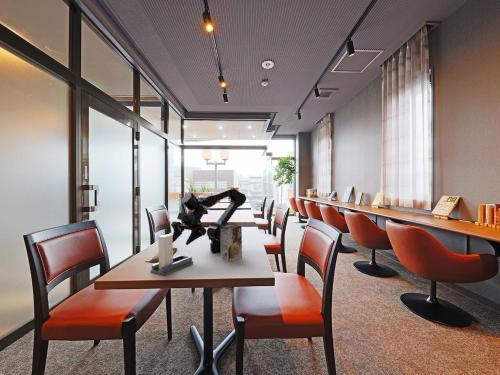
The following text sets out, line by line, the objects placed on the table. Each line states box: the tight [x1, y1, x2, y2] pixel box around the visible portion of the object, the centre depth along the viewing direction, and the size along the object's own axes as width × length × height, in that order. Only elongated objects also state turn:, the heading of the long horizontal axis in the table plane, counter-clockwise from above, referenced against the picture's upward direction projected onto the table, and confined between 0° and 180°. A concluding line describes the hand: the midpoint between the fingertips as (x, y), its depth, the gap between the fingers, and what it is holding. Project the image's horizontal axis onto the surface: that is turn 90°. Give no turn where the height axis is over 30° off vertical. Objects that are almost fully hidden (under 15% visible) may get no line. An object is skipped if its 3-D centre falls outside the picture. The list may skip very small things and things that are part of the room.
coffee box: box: [220, 224, 243, 263], centre depth 117 cm, size 9×6×16 cm
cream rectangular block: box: [157, 234, 174, 269], centre depth 101 cm, size 4×4×14 cm
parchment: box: [145, 247, 178, 263], centre depth 124 cm, size 25×10×1 cm, turn 0°
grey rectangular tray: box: [150, 254, 194, 277], centre depth 105 cm, size 16×8×3 cm, turn 149°
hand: (179, 243), depth 108 cm, fingers open, 9 cm apart
